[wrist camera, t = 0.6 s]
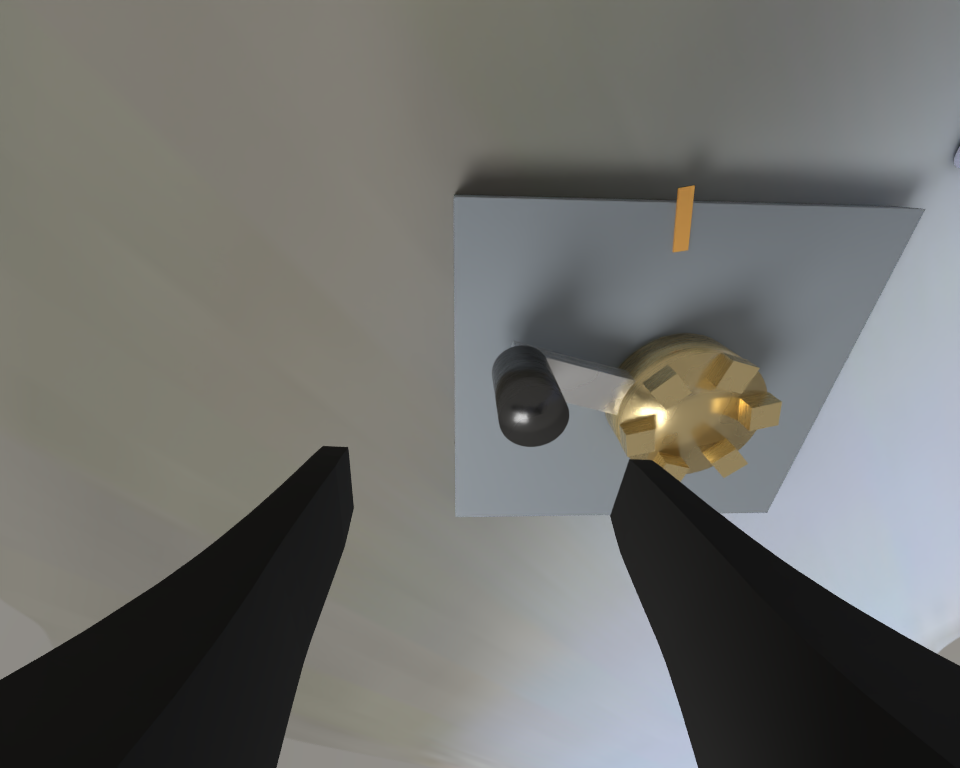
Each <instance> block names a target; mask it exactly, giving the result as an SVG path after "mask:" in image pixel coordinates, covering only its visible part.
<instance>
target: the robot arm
mask: <svg viewBox="0 0 960 768" xmlns="http://www.w3.org/2000/svg"><path fill="white" fill-rule="evenodd" d="M954 165H955V166H956V167H958V168H960V147H959V149H958V151H957V153H956V155H955V157H954ZM353 509H354V505H353V494H352V483H351V472H350V461H349V450H348V447H331V446H323V447H321V448H320V449H319V450H318V451H317V452H316V453H315V454H314V455H313V456H311V457H310V458H309V459H308V460H307V461H306V462H305V463H304V464H303V465H302V466H301V467H300V468H299V469H298V470H297V471H296V472H295V473H294V474H293V475H292V476H290V477H289V478H288V479H287V480H286V481H285V482H284V483H283V484H282V485H281V486H280V487H279V488H277V489H276V490H275V491H274V492H273V493H272V494H271V495H270V496H269V497H267V498H266V499H265V500H264V501H263V502H262V503H261V504H260V505H259V506H257V507H256V508H255V509H254V510H253V511H252V512H251V513H249V514H248V515H247V516H246V517H244V518H243V519H242V520H241V521H240V522H238V523H237V524H236V525H235V526H234V527H232V528H231V529H230V530H229V531H228V532H226V533H225V534H224V535H223V536H221V537H220V538H219V539H218V540H217V541H215V542H214V543H213V544H211V545H210V546H209V547H208V548H206V549H205V550H204V551H202V552H201V553H200V554H198V555H197V556H196V557H194V558H193V559H192V560H190V561H189V562H188V563H186V564H185V565H183V566H182V567H181V568H179V569H178V570H176V571H175V572H174V573H172V574H171V575H169V576H168V577H167V578H165V579H164V580H162V581H161V582H159V583H158V584H156V585H155V586H154V587H152V588H150V589H149V590H147V591H146V592H144V593H143V594H141V595H140V596H138V597H137V598H135V599H133V600H132V601H130V602H129V603H127V604H126V605H124V606H123V607H121V608H119V609H118V610H116V611H115V612H113V613H112V614H110V615H109V616H107V617H105V618H104V619H102V620H101V621H99V622H98V623H96V624H95V625H93V626H92V627H90V628H88V629H87V630H85V631H83V632H82V633H80V634H78V635H77V636H75V637H73V638H72V639H70V640H68V641H67V642H65V643H63V644H62V645H60V646H58V647H57V648H55V649H53V650H52V651H50V652H48V653H46V654H45V655H43V656H41V657H40V658H38V659H36V660H34V661H33V662H31V663H29V664H27V665H26V666H24V667H22V668H20V669H19V670H17V671H15V672H13V673H11V674H10V675H8V676H6V677H4V678H3V679H1V680H0V768H276V767H277V763H278V759H279V755H280V751H281V747H282V743H283V739H284V736H285V732H286V728H287V724H288V720H289V716H290V712H291V708H292V705H293V701H294V697H295V693H296V690H297V686H298V682H299V678H300V675H301V671H302V667H303V664H304V660H305V657H306V654H307V651H308V648H309V645H310V642H311V639H312V636H313V633H314V631H315V628H316V625H317V622H318V619H319V617H320V614H321V611H322V608H323V606H324V603H325V600H326V597H327V595H328V592H329V589H330V586H331V584H332V581H333V578H334V575H335V572H336V570H337V567H338V564H339V561H340V558H341V556H342V553H343V550H344V547H345V543H346V539H347V535H348V531H349V526H350V522H351V518H352V513H353ZM610 517H611V521H612V524H613V528H614V532H615V536H616V539H617V543H618V546H619V549H620V553H621V555H622V558H623V560H624V563H625V565H626V568H627V570H628V572H629V575H630V577H631V580H632V582H633V585H634V587H635V589H636V592H637V594H638V596H639V599H640V601H641V603H642V606H643V608H644V610H645V613H646V615H647V617H648V620H649V622H650V625H651V627H652V629H653V632H654V634H655V636H656V639H657V641H658V644H659V646H660V649H661V651H662V654H663V657H664V659H665V662H666V665H667V668H668V671H669V674H670V677H671V680H672V683H673V686H674V689H675V693H676V696H677V699H678V702H679V705H680V708H681V711H682V714H683V718H684V721H685V725H686V728H687V731H688V735H689V738H690V741H691V745H692V748H693V752H694V755H695V758H696V762H697V765H698V768H960V666H959V665H957V664H955V663H953V662H951V661H949V660H948V659H946V658H944V657H942V656H940V655H938V654H936V653H934V652H933V651H931V650H929V649H927V648H925V647H924V646H922V645H920V644H918V643H916V642H914V641H913V640H911V639H909V638H907V637H905V636H904V635H902V634H900V633H898V632H897V631H895V630H893V629H891V628H890V627H888V626H886V625H885V624H883V623H881V622H879V621H878V620H876V619H874V618H873V617H871V616H869V615H867V614H866V613H864V612H862V611H861V610H859V609H857V608H856V607H854V606H852V605H851V604H849V603H847V602H846V601H844V600H842V599H841V598H839V597H838V596H836V595H834V594H833V593H831V592H830V591H828V590H827V589H825V588H824V587H822V586H820V585H819V584H817V583H816V582H814V581H813V580H811V579H810V578H808V577H807V576H805V575H804V574H802V573H801V572H799V571H797V570H796V569H794V568H793V567H792V566H790V565H789V564H787V563H786V562H784V561H783V560H781V559H780V558H779V557H777V556H776V555H774V554H773V553H772V552H770V551H769V550H767V549H766V548H765V547H763V546H762V545H761V544H759V543H758V542H756V541H755V540H754V539H752V538H751V537H750V536H748V535H747V534H746V533H744V532H743V531H742V530H740V529H739V528H738V527H736V526H735V525H734V524H733V523H731V522H730V521H729V520H727V519H726V518H725V517H724V516H722V515H721V514H720V513H718V512H717V511H716V510H715V509H713V508H712V507H711V506H710V505H708V504H707V503H706V502H705V501H703V500H702V499H701V498H700V497H698V496H697V495H696V494H695V493H694V492H692V491H691V490H690V489H689V488H687V487H686V486H685V485H684V484H682V483H681V482H680V481H679V480H677V479H676V478H675V477H674V476H672V475H671V474H670V473H669V472H667V471H666V470H665V469H663V468H662V467H661V466H659V465H658V464H657V463H655V462H654V461H653V460H640V459H629V462H628V464H627V467H626V470H625V473H624V476H623V479H622V482H621V485H620V488H619V491H618V494H617V497H616V500H615V503H614V506H613V509H612V512H611V514H610Z"/></svg>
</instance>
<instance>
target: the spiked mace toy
mask: <svg viewBox="0 0 960 768" xmlns="http://www.w3.org/2000/svg"><path fill="white" fill-rule="evenodd" d="M759 369H760V368H759V367H757V366H756V365H754V364H753V363H751V362H750V361H748V360H747V359H743V358H741V357H740V356H739V355H737V354H736V353H734V352H733V351H731V350H730V349H728V348H727V347H725V346H724V345H722V344H721V343H719V342H717V341H716V340H714V339H712V338H709V337H707V336H704V335H699V334H691V333H683V334H674V335H669V336H665V337H662V338H659V339H656V340H654V341H651V342H649V343H648V344H646V345H644V346H642V347H641V348H639V349H638V350H636V351H635V352H633V353H632V354H631V355H630V356H629V357H628V358H626V359H625V361H624V362H623V363H622V364H621V365H620V366H619V367H618V368H616V367H612V366H608V365H604V364H601V363H597V362H593V361H589V360H585V359H582V358H578V357H574V356H570V355H566V354H563V353H559V352H555V351H551V350H548V349H544V348H540V347H536V346H532V345H529V344H525V343H521V342H517V341H513V343H512V345H511V348H509V349H507V350H505V351H503V352H502V353H501V354H500V355H499V356H498V357H497V358H496V360H495V362H494V364H493V367H492V380H493V386H494V393H495V400H496V407H497V413H498V420H499V426H500V429H501V431H502V433H503V434H504V436H505V437H506V438H507V439H508V440H510V441H511V442H513V443H515V444H517V445H520V446H525V447H537V446H542V445H545V444H548V443H550V442H552V441H553V440H555V439H556V438H558V437H559V436H560V435H561V434H562V433H563V431H564V430H565V428H566V426H567V424H568V421H569V408H568V405H567V403H569V404H573V405H578V406H582V407H586V408H590V409H594V410H598V411H602V412H605V415H606V418H607V421H608V423H609V425H610V426H611V428H612V430H613V432H614V433H615V435H616V437H617V439H618V440H619V442H620V444H621V447H622V448H623V450H624V452H625V454H626V455H627V457H629V458H630V459H640V460H653V461H654V462H655V463H657V464H658V465H659V466H661V467H662V468H663V469H665V470H666V471H667V472H669V473H670V474H671V475H672V476H674V477H675V478H676V479H677V480H679V481H680V482H681V480H682V479H683V478H684V476H685V475H686V474H691V473H695V472H699V471H702V470H705V469H708V468H710V467H712V466H714V467H715V469H716V470H717V471H718V472H719V473H720V474H721V476H722V477H723V478H725V477H727V476H729V475H730V474H732V473H734V472H735V471H737V470H739V469H740V468H742V467H744V466H745V465H747V464H748V463H747V461H746V460H745V459H744V458H743V456H742V455H741V454H740V453H739V451H738V450H739V449H741V448H742V447H743V446H744V445H745V444H746V443H747V442H748V441H749V439H750V438H751V437H752V436H753V435H754V433H755V432H756V430H758V429H763V428H768V427H772V426H777V425H779V418H780V412H781V406H782V401H780V400H779V399H778V398H776V397H775V396H773V395H772V394H771V393H769V392H767V387H766V384H765V381H764V379H763V377H762V375H761V374H760V373H759V371H758V370H759Z"/></svg>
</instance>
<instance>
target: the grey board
mask: <svg viewBox="0 0 960 768" xmlns="http://www.w3.org/2000/svg"><path fill="white" fill-rule="evenodd" d="M694 190H695V185H693V186H687V187H681V188H678V192H677V200H639V199H601V198H563V197H525V196H487V195H454V342H455V516H456V517H491V516H563V515H610V514H611V512H612V509H613V506H614V503H615V500H616V497H617V494H618V491H619V488H620V485H621V482H622V479H623V476H624V473H625V470H626V467H627V464H628V462H629V459H630V458H629V457H627V455H626V454H625V452H624V450H623V448H622V447H621V444H620V442H619V440H618V439H617V437H616V435H615V433H614V432H613V430H612V428H611V426H610V425H609V423H608V421H607V418H606V415H605V412H602V411H598V410H594V409H590V408H586V407H582V406H578V405H573V404H569V403H567V405H568V408H569V421H568V424H567V426H566V428H565V430H564V431H563V433H562V434H561V435H560V436H559V437H558V438H556V439H555V440H553V441H552V442H550V443H548V444H545V445H542V446H537V447H525V446H520V445H517V444H515V443H513V442H511V441H510V440H508V439H507V438H506V437H505V436H504V434H503V433H502V431H501V429H500V426H499V420H498V413H497V407H496V400H495V393H494V386H493V380H492V367H493V364H494V362H495V360H496V358H497V357H498V356H499V355H500V354H501V353H502V352H503V351H505V350H507V349H509V348H511V345H512V343H513V341H517V342H521V343H525V344H529V345H532V346H536V347H540V348H544V349H548V350H551V351H555V352H559V353H563V354H566V355H570V356H574V357H578V358H582V359H585V360H589V361H593V362H597V363H601V364H604V365H608V366H612V367H616V368H618V367H619V366H620V365H621V364H622V363H623V362H624V361H625V359H626V358H628V357H629V356H630V355H631V354H632V353H633V352H635V351H636V350H638V349H639V348H641V347H642V346H644V345H646V344H648V343H649V342H651V341H654V340H656V339H659V338H662V337H665V336H669V335H674V334H683V333H691V334H699V335H704V336H707V337H709V338H712V339H714V340H716V341H717V342H719V343H721V344H722V345H724V346H725V347H727V348H728V349H730V350H731V351H733V352H734V353H736V354H737V355H739V356H740V357H741V358H743V359H747V360H748V361H750V362H751V363H753V364H754V365H756V366H757V367H759V368H760V369H759V370H758V371H759V373H760V374H761V375H762V377H763V379H764V381H765V384H766V387H767V392H769V393H771V394H772V395H773V396H775V397H776V398H778V399H779V400H780V401H782V406H781V412H780V418H779V425H777V426H772V427H768V428H763V429H758V430H756V432H755V433H754V435H753V436H752V437H751V438H750V439H749V441H748V442H747V443H746V444H745V445H744V446H743V447H742V448H741V449H739V450H738V451H739V453H740V454H741V455H742V456H743V458H744V459H745V460H746V461H747V463H748V464H747V465H745V466H744V467H742V468H740V469H739V470H737V471H735V472H734V473H732V474H730V475H729V476H727V477H725V478H723V477H722V476H721V474H720V473H719V472H718V471H717V470H716V469H715V467H714V466H712V467H710V468H708V469H705V470H702V471H699V472H695V473H691V474H686V475H685V476H684V478H683V479H682V480H681V483H682V484H684V485H685V486H686V487H687V488H689V489H690V490H691V491H692V492H694V493H695V494H696V495H697V496H698V497H700V498H701V499H702V500H703V501H705V502H706V503H707V504H708V505H710V506H711V507H712V508H713V509H715V510H716V511H717V512H718V513H767V512H768V510H769V508H770V506H771V504H772V502H773V500H774V498H775V496H776V494H777V493H778V491H779V489H780V487H781V485H782V483H783V481H784V479H785V477H786V475H787V473H788V471H789V470H790V468H791V466H792V464H793V462H794V460H795V458H796V456H797V454H798V452H799V450H800V448H801V447H802V445H803V443H804V441H805V439H806V437H807V435H808V433H809V431H810V429H811V427H812V425H813V423H814V422H815V420H816V418H817V416H818V414H819V412H820V410H821V408H822V406H823V404H824V402H825V400H826V399H827V397H828V395H829V393H830V391H831V389H832V387H833V385H834V383H835V381H836V379H837V377H838V376H839V374H840V372H841V370H842V368H843V366H844V364H845V362H846V360H847V358H848V356H849V354H850V352H851V351H852V349H853V347H854V345H855V343H856V341H857V339H858V337H859V335H860V333H861V331H862V329H863V328H864V326H865V324H866V322H867V320H868V318H869V316H870V314H871V312H872V310H873V308H874V306H875V305H876V303H877V301H878V299H879V297H880V295H881V293H882V291H883V289H884V287H885V285H886V283H887V282H888V280H889V278H890V276H891V274H892V272H893V270H894V268H895V266H896V264H897V262H898V260H899V258H900V257H901V255H902V253H903V251H904V249H905V247H906V245H907V243H908V241H909V239H910V237H911V235H912V234H913V232H914V230H915V228H916V226H917V224H918V222H919V220H920V218H921V216H922V214H923V212H924V211H925V209H918V208H907V207H895V206H869V205H830V204H792V203H754V202H716V201H693V199H694Z"/></svg>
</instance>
